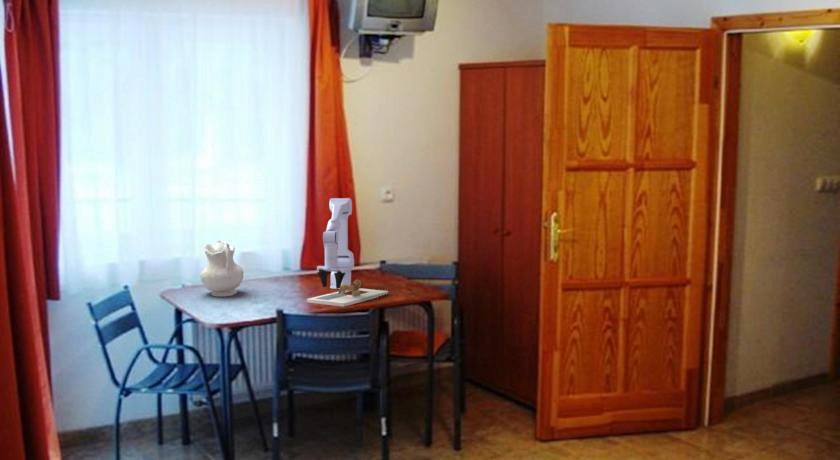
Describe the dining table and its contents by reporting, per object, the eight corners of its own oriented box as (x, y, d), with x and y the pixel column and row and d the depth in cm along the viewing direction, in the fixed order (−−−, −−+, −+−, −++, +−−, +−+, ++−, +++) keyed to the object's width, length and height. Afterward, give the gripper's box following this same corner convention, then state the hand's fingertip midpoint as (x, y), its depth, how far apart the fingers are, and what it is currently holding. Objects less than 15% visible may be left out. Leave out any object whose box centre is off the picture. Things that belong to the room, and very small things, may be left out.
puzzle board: (306, 302, 353) (306, 298, 353) (354, 290, 384) (354, 287, 384) (343, 306, 343) (343, 303, 343) (389, 294, 374) (389, 291, 374)
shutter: (352, 297, 356) (352, 291, 356) (377, 291, 374) (377, 285, 373) (363, 298, 353) (363, 293, 353) (388, 292, 370) (388, 286, 370)
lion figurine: (358, 294, 375) (358, 278, 374) (362, 295, 371) (362, 280, 370) (335, 296, 369) (335, 280, 368) (338, 297, 365) (338, 281, 365)
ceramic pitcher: (255, 295, 370) (254, 242, 368) (218, 301, 356) (217, 245, 354) (228, 290, 385) (227, 238, 383) (192, 295, 371) (191, 242, 369)
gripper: (312, 257, 357) (313, 287, 359) (338, 259, 350) (339, 290, 351) (322, 255, 363) (322, 285, 365) (348, 257, 356) (348, 287, 357)
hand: (331, 287), depth 358 cm, fingers open, 7 cm apart
